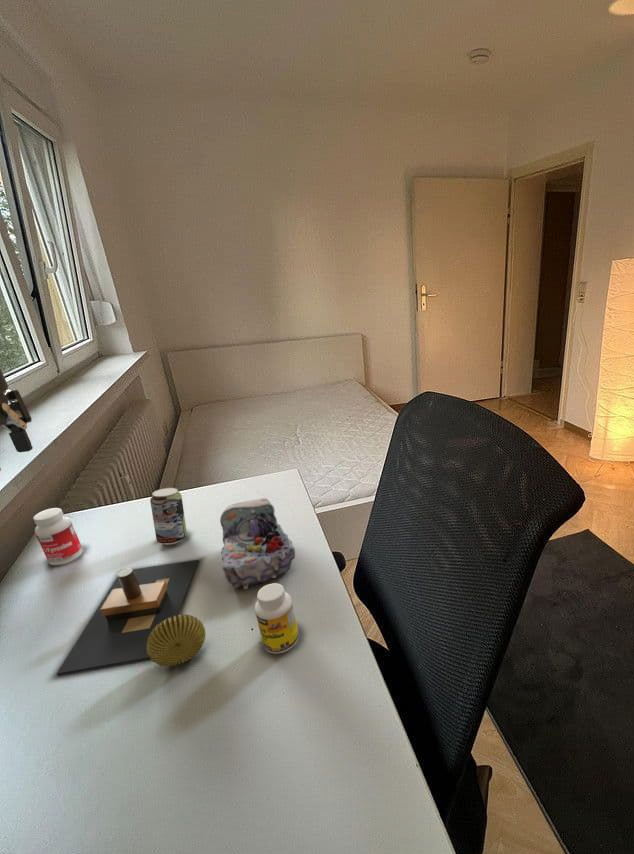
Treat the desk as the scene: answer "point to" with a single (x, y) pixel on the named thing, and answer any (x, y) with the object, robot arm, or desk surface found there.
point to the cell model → (253, 544)
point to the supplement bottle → (276, 618)
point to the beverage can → (168, 516)
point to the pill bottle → (57, 536)
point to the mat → (129, 623)
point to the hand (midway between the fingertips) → (9, 461)
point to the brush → (134, 598)
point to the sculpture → (175, 640)
